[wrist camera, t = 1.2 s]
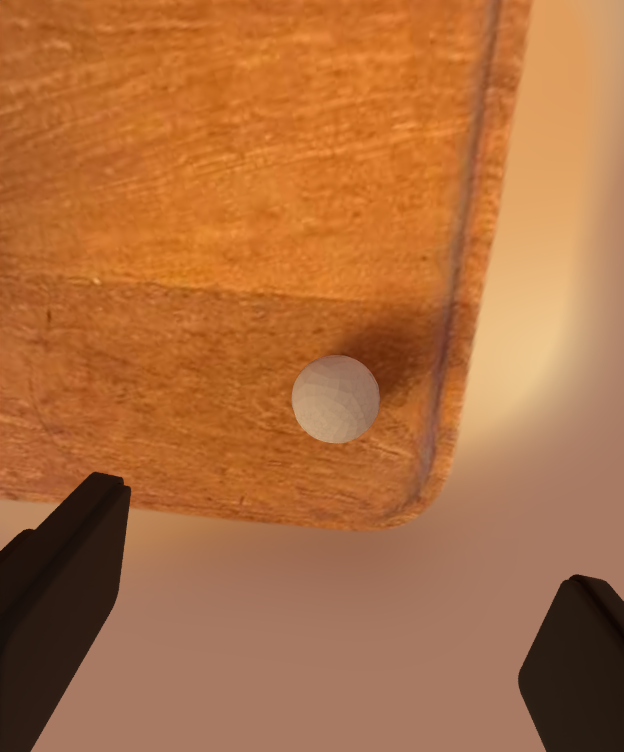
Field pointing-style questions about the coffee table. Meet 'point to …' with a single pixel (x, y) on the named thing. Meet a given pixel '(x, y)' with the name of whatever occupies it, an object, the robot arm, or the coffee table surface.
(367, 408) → the golf ball
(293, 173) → the coffee table surface
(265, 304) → the coffee table surface
